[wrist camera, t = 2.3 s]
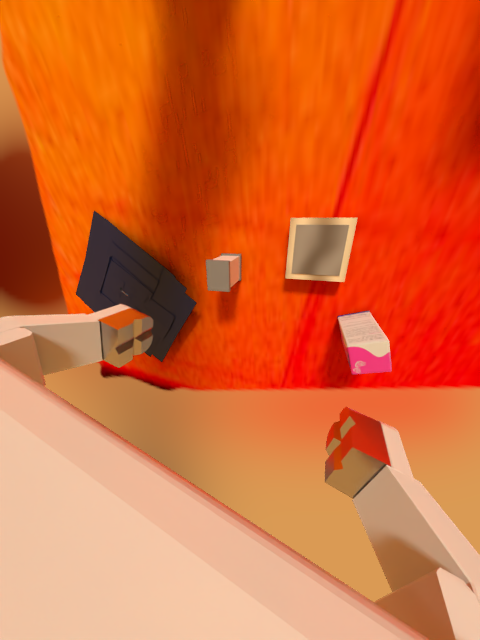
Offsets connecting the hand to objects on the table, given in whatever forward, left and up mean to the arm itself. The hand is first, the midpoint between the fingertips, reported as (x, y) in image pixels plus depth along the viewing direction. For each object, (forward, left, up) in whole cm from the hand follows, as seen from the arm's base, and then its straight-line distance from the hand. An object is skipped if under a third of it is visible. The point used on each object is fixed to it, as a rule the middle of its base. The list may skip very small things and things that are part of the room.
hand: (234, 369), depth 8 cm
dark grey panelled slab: (-14, -34, -36) cm, 52 cm away
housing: (-4, -10, -36) cm, 38 cm away
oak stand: (+3, +5, -36) cm, 36 cm away
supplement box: (+20, +3, -36) cm, 41 cm away
